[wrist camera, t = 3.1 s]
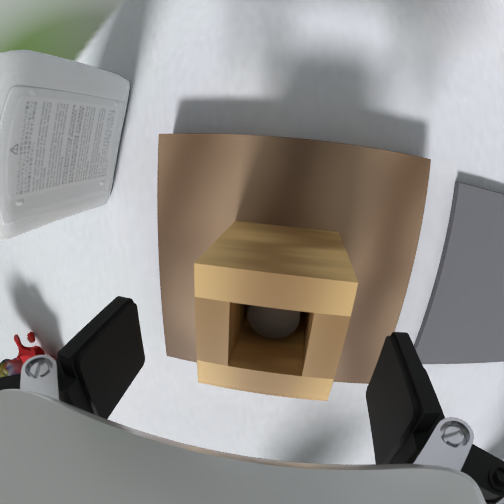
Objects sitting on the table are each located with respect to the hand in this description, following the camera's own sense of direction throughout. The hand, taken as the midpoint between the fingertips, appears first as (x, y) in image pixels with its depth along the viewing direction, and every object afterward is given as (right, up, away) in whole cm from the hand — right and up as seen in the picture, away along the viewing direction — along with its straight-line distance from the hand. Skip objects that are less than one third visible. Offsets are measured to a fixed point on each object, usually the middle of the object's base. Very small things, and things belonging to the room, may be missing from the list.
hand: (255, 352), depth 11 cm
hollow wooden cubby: (+2, +2, +8) cm, 8 cm away
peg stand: (+2, +3, +10) cm, 10 cm away
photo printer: (-11, +12, +9) cm, 19 cm away
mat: (+20, +1, +7) cm, 21 cm away
